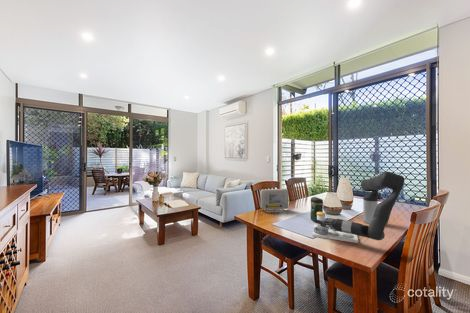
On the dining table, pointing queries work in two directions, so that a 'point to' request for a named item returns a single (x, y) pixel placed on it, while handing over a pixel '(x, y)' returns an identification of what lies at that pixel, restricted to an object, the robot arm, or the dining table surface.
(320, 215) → the post
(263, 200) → the network device
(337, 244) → the dining table surface
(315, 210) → the coffee jar
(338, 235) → the panel
